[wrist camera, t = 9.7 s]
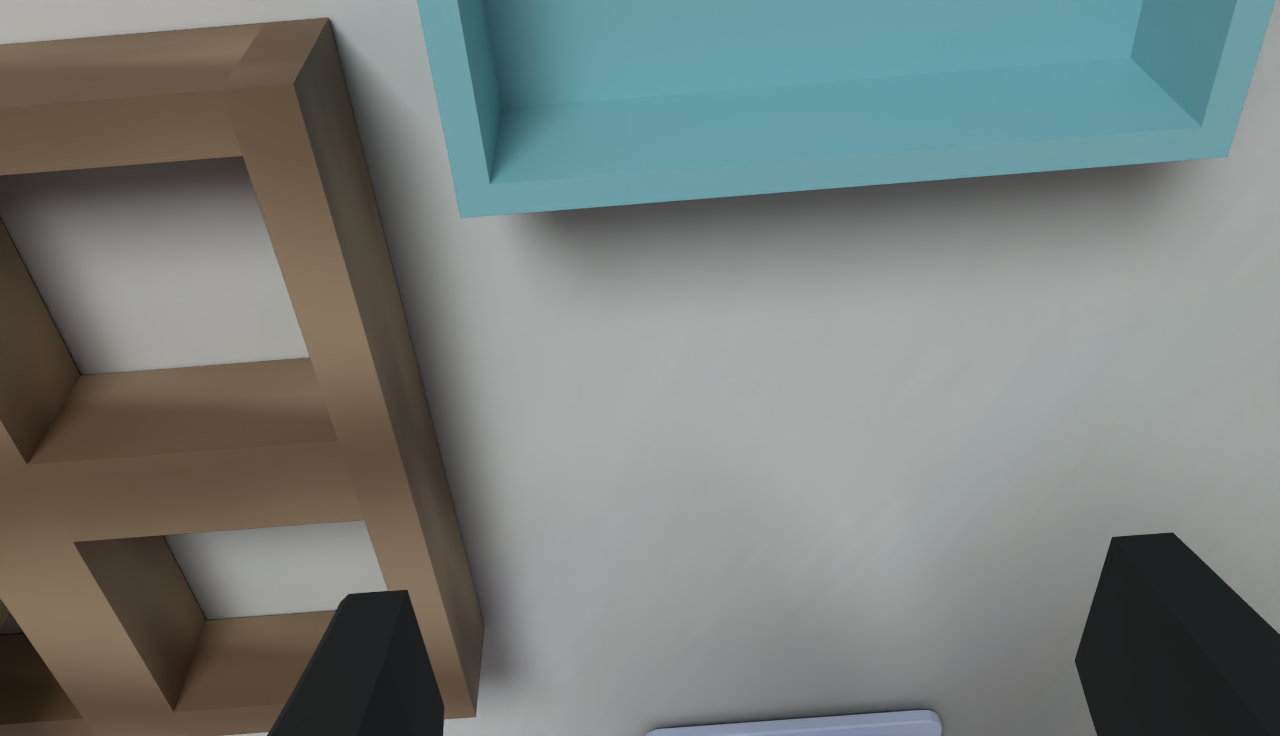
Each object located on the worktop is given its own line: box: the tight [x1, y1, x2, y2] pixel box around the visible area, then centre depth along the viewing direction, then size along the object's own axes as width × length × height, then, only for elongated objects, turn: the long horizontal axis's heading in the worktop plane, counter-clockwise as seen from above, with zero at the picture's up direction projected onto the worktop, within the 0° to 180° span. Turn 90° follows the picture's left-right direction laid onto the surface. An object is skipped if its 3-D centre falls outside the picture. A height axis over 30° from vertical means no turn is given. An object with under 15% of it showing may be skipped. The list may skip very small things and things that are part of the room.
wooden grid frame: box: [0, 18, 484, 736], centre depth 20 cm, size 15×15×2 cm
